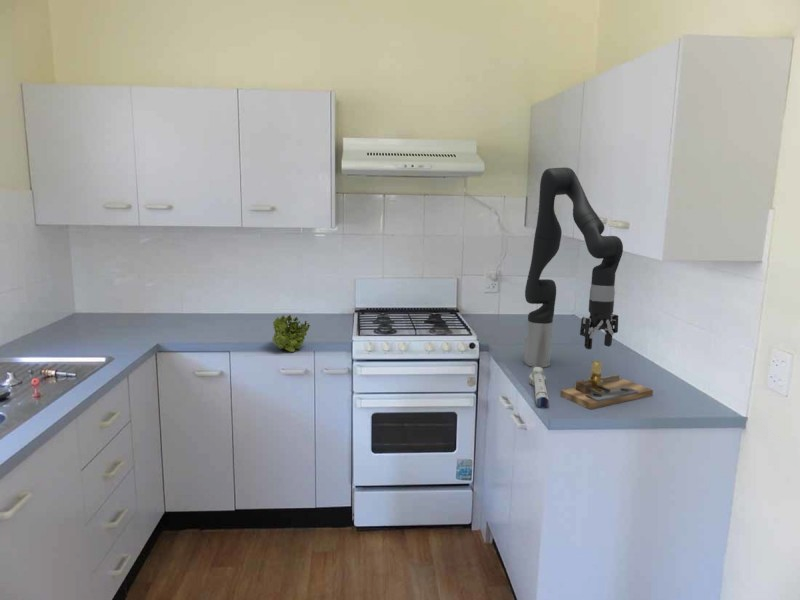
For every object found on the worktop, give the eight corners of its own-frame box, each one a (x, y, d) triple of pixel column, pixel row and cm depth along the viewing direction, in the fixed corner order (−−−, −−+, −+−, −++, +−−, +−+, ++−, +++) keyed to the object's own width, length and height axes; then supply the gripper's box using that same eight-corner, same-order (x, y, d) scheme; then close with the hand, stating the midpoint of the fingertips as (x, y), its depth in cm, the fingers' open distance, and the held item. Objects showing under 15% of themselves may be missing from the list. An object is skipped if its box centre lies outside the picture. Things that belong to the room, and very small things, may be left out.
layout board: (560, 395, 186) (561, 384, 185) (621, 383, 199) (622, 372, 198) (590, 409, 175) (591, 397, 174) (652, 395, 187) (653, 384, 187)
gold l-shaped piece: (586, 387, 188) (588, 361, 186) (593, 385, 190) (595, 360, 188) (605, 394, 181) (607, 368, 180) (612, 393, 183) (614, 366, 181)
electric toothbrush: (534, 396, 175) (530, 362, 199) (533, 415, 177) (528, 379, 201) (551, 397, 174) (545, 362, 198) (550, 416, 177) (544, 380, 200)
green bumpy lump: (261, 334, 240) (287, 307, 245) (288, 359, 242) (313, 332, 247) (263, 330, 223) (291, 301, 228) (292, 357, 225) (319, 328, 230)
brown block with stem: (575, 389, 186) (576, 381, 185) (582, 388, 187) (583, 379, 187) (593, 397, 179) (594, 388, 178) (600, 396, 180) (601, 387, 180)
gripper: (608, 295, 188) (604, 342, 191) (576, 298, 181) (573, 347, 184) (626, 298, 181) (622, 347, 184) (594, 302, 175) (590, 352, 178)
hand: (597, 347), depth 184 cm, fingers open, 8 cm apart
